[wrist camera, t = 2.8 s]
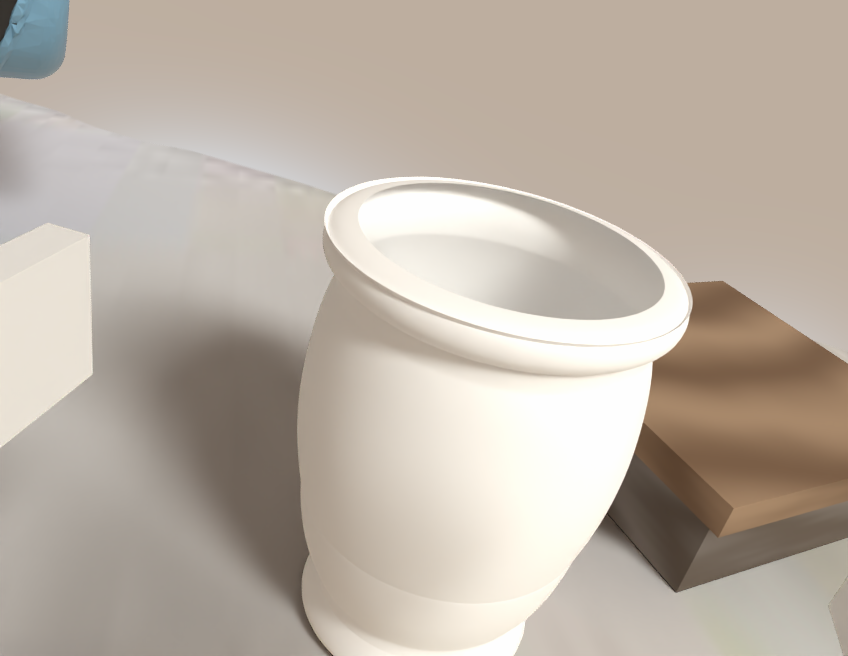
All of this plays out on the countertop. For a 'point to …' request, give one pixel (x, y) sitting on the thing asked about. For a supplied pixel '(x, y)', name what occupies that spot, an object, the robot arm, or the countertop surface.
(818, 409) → the stand
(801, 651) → the countertop surface
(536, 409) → the jar
